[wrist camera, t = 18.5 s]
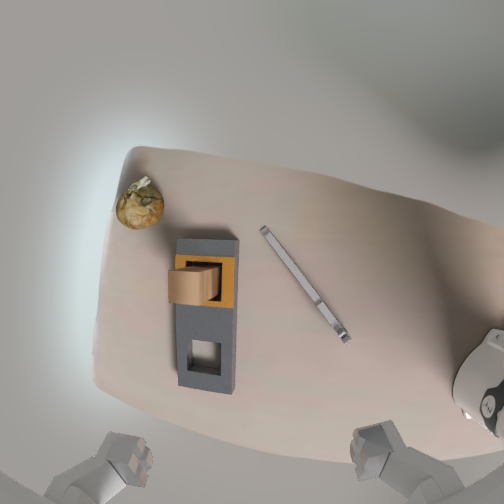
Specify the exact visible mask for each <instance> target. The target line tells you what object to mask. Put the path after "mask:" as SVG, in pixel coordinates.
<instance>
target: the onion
mask: <svg viewBox="0 0 504 504" xmlns="http://www.w3.org/2000/svg"><path fill="white" fill-rule="evenodd" d="M150 182H151V179H150V178H149V176H148V175H146V176H144V177H143V178H142V179H140V180H137V181H136V182H134V183H132V184H131V185H130V187H129V188H128V190H127V191H126V192H125V193H123V195H122V196H121V197H120V199H119V200H118V202H117V205H116V214H117V218H118V220H119V221H120V222H121V223H122V224H123V225H124V226H126V227H128V228H131V229H143V228H147V227H150V226H152V225H154V224H155V223H156V222H158V221H159V219H160V218H161V216H162V214H163V209H164V200H163V197H162V195H161V194H160V192H159V191H158V190H157V189H156V188H155V187H153V186H151V185H150V184H149V183H150Z"/></svg>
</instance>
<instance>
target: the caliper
mask: <svg viewBox="0 0 504 504" xmlns="http://www.w3.org/2000/svg"><path fill="white" fill-rule="evenodd" d="M260 231H261V232H262V233H263V235H264V236H265V238H266V239H267V240H268V242H269V243H270V244H271V245H272V247H273V248H274V249H275V251H276V252H277V253H278V255H279V256H280V257H281V259H282V260H283V261H284V262H285V264H286V265H287V266H288V268H289V269H290V270H291V272H292V273H293V274H294V276H295V277H296V278H297V280H298V281H299V282H300V284H301V285H302V286H303V288H304V289H305V290H306V292H307V293H308V294H309V296H310V297H311V298H312V300H313V301H314V302H315V304H316V305H317V307H318V308H319V309H320V311H321V312H322V313H323V315H324V316H325V317H326V319H327V320H328V322H329V323H330V324H331V326H332V327H333V328H334V330H335V331H336V332H337V333H338V336H339V337H340V338H341V339H342V341H343V343H345V345H347V344H349V343H350V342H351V341H352V339H351V337H350V335H349V333H348V332H347V331H345V330H344V328H343V327H342V324H341V323H340V322H339V321H338V320H337V319H336V317H335V316H334V314H333V313H332V312H331V310H330V309H329V308H328V306H327V305H326V304H325V302H324V301H323V300H322V299H321V297H320V296H319V295H318V293H317V292H316V291H315V289H314V288H313V287H312V285H311V284H310V283H309V281H308V280H307V279H306V277H305V276H304V275H303V274H302V272H301V271H300V270H299V268H298V267H297V266H296V264H295V263H294V262H293V260H292V259H291V258H290V257H289V255H288V254H287V253H286V251H285V250H284V249H283V247H282V246H281V245H280V244H279V242H278V241H277V240H276V239H275V237H274V236H273V235H272V233H271V232H270V231H269V230H268V228H267V227H266V226H265V227H264V228H263V229H261V230H260Z"/></svg>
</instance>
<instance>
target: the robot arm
mask: <svg viewBox="0 0 504 504" xmlns="http://www.w3.org/2000/svg"><path fill="white" fill-rule="evenodd" d="M496 336H497V337H496ZM453 398H454V401H455V403H456V404H457V405H458V406H459V407H460V408H462V410H463V414H464V416H465V417H466V418H467V419H469V418H473V419H474V420H475V421H476V422H477V423H479V424H480V425H481V426H482V427H484V428H486V429H487V428H488V429H489V431H490V432H491V433H492V434H494V435H495V436H496V437H498V438H501V439H502V440H503V441H504V330H499V329H491V330H490V331H489V333H488V334H487V336H486V337H485V339H484V340H483V342H482V343H481V344H480V345H479V346H478V347H477V348H476V349H475V350H474V351H473V352H472V353H471V354H470V355H469V356H468V357H467V358H466V360H465V361H464V363H463V364H462V366H461V368H460V370H459V372H458V374H457V376H456V379H455V382H454V386H453ZM353 438H354V439H353V440H352V441H351V444H350V454H351V459H352V462H354V463H355V464H357V465H356V468H355V471H356V474H357V478H358V481H359V482H360V481H365V480H369V479H373V478H377V477H379V478H380V479H381V480H383V481H384V482H386V483H387V484H388V485H390V486H391V487H392V488H394V489H395V490H397V491H398V492H399V493H401V494H402V495H404V496H405V497H407V498H408V500H407V501H406V503H405V504H504V463H503V464H502V465H501V466H499V467H498V468H496V469H495V470H493V471H492V472H490V473H489V474H488V475H486V476H484V477H483V478H481V479H480V480H478V481H476V482H475V483H473V484H471V485H470V486H468V487H466V488H465V487H464V485H463V484H462V482H461V480H460V478H459V477H458V475H457V473H456V471H455V470H454V468H453V467H452V466H450V465H447V464H445V463H443V462H441V461H439V460H437V459H435V458H432V457H430V456H428V455H426V454H424V453H422V452H420V451H418V450H416V449H414V448H412V447H406V445H405V443H404V442H403V440H402V438H401V436H400V434H399V432H398V430H397V428H396V427H395V425H394V423H393V421H391V420H389V421H385V422H382V423H377V424H373V425H369V426H365V427H361V428H357V429H355V430H354V431H353ZM145 445H146V441H145V439H144V438H142V437H136V436H130V435H125V434H121V433H115V432H109V433H108V434H107V435H106V438H105V439H104V441H103V443H102V445H101V447H100V448H99V450H98V452H97V454H96V456H95V457H91V458H89V459H87V460H85V461H84V462H82V463H80V464H78V465H76V466H74V467H73V468H71V469H69V470H67V471H65V472H63V473H61V474H59V475H57V476H55V477H54V479H53V480H52V482H51V484H50V486H49V487H48V489H47V491H46V493H45V495H44V496H41V495H40V494H38V493H36V492H34V491H33V490H31V489H29V488H27V487H25V486H24V485H22V484H20V483H19V482H17V481H15V480H14V479H12V478H11V477H9V476H8V475H6V474H4V473H3V472H2V471H0V504H104V503H106V502H107V501H108V500H109V499H110V498H112V497H113V496H114V495H116V494H117V493H118V492H119V491H120V490H122V489H123V488H124V487H125V486H126V484H128V485H133V486H138V487H145V485H146V482H147V479H148V474H147V471H148V470H149V469H151V467H152V464H153V456H152V452H151V450H150V449H149V448H148V447H146V446H145Z"/></svg>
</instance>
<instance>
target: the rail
mask: <svg viewBox="0 0 504 504" xmlns="http://www.w3.org/2000/svg"><path fill="white" fill-rule="evenodd" d="M192 261H201V262H220V263H222V296H221V298H215V297H213V298H211V299H209V300H208V301H206V302H204V303H203V304H201V305H199V306H195V305H186V304H176V345H177V368H178V385H179V386H184V387H189V388H194V389H199V390H205V391H211V392H217V393H224V394H231V395H232V393H233V391H234V389H235V363H236V324H237V291H238V262H239V240H215V239H182V238H177V243H176V255H175V269H179V268H184V267H190V266H192ZM192 339H193V340H200V341H208V342H216V343H221V369H217V368H210V367H203V366H197V365H193V358H192Z"/></svg>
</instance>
